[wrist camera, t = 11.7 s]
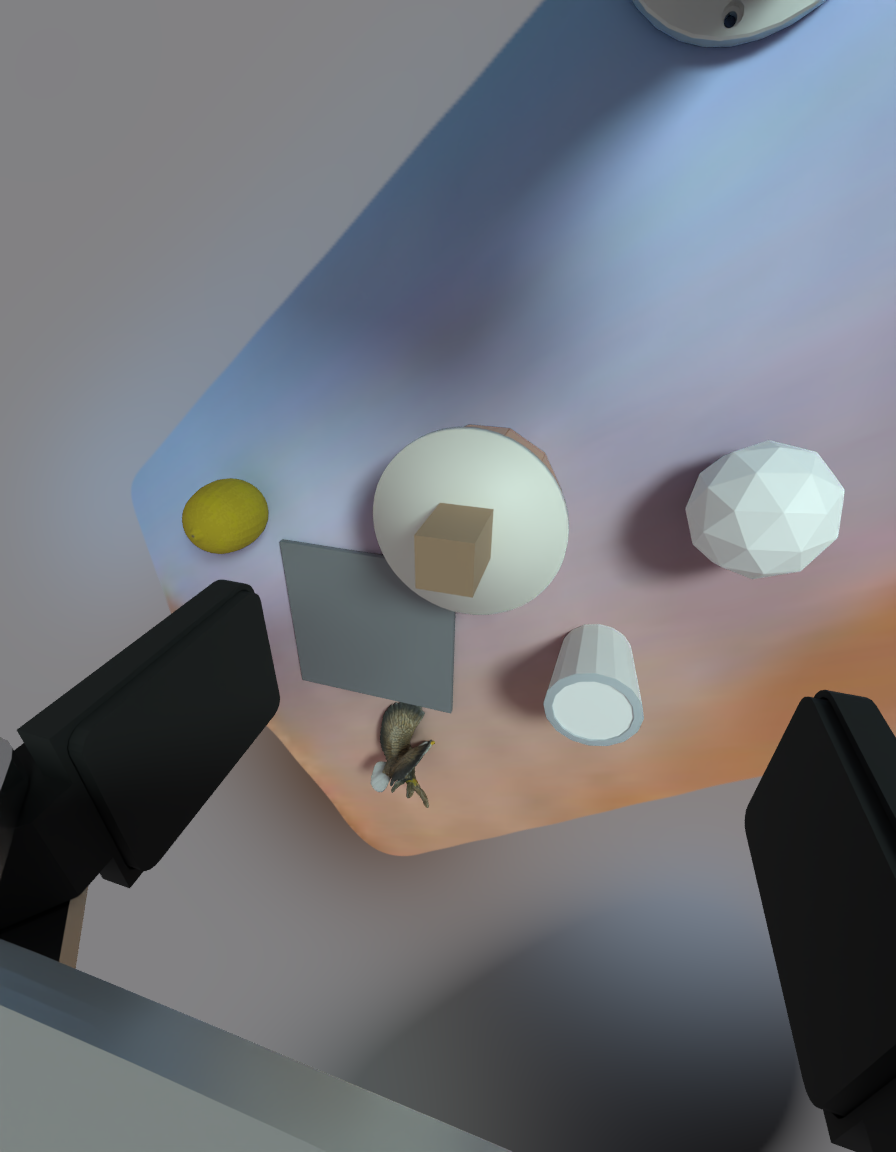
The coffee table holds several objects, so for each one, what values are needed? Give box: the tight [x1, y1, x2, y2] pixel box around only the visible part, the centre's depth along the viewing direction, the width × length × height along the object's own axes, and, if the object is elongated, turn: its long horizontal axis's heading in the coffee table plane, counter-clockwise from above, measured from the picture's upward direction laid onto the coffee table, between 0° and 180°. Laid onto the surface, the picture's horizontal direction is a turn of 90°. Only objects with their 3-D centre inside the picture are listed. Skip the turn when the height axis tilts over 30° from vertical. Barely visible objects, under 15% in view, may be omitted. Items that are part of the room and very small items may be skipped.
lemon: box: [182, 478, 268, 554], centre depth 40 cm, size 6×6×8 cm
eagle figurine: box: [371, 702, 435, 808], centre depth 51 cm, size 8×7×9 cm
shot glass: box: [544, 624, 644, 746], centre depth 39 cm, size 7×7×7 cm
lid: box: [373, 427, 569, 615], centre depth 31 cm, size 13×13×6 cm
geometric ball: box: [685, 440, 845, 579], centre depth 30 cm, size 8×8×8 cm
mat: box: [280, 540, 455, 713], centre depth 47 cm, size 16×16×1 cm
